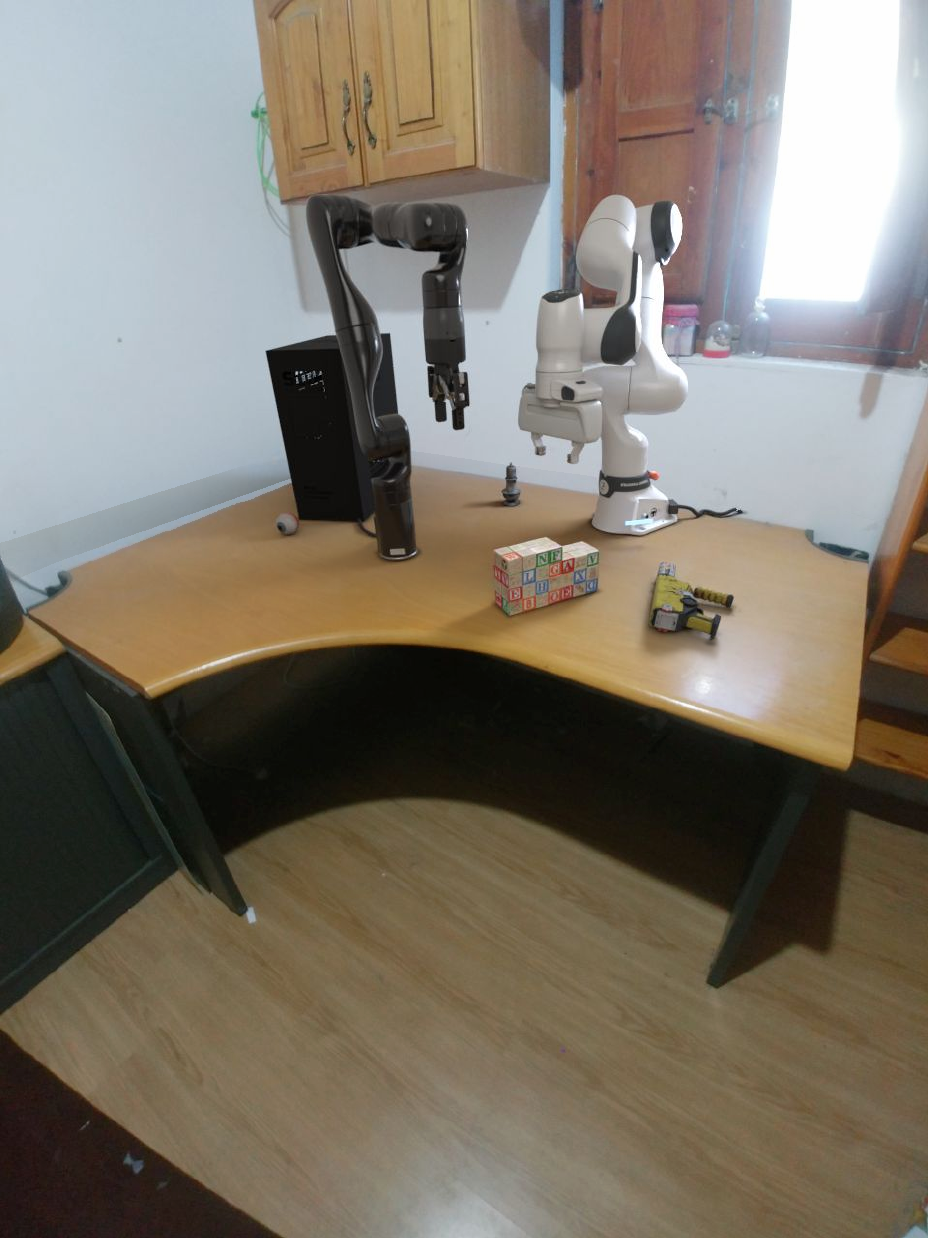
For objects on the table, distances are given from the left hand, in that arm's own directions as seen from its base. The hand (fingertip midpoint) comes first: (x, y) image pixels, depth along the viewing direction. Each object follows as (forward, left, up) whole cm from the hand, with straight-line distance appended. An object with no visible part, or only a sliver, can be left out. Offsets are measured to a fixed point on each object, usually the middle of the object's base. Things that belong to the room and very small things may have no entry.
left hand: (449, 425), depth 118 cm
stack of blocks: (+20, +7, -34) cm, 40 cm away
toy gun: (+44, +22, -34) cm, 60 cm away
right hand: (+14, +16, -8) cm, 22 cm away
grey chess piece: (-26, +45, -34) cm, 62 cm away
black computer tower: (-67, +17, -34) cm, 77 cm away
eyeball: (-56, -12, -34) cm, 67 cm away
